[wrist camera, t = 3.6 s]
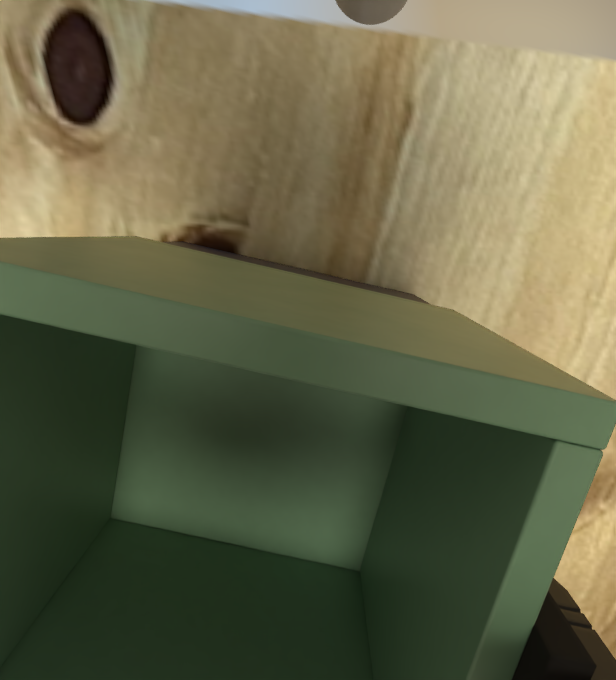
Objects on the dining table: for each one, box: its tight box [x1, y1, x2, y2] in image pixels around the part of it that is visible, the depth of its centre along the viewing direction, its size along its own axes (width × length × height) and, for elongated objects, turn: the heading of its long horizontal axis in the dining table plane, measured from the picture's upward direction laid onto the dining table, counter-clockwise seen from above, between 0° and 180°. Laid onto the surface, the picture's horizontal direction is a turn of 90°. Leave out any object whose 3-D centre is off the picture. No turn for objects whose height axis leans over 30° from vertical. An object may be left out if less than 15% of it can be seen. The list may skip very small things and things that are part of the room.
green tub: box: [0, 236, 616, 680], centre depth 12 cm, size 11×11×9 cm
